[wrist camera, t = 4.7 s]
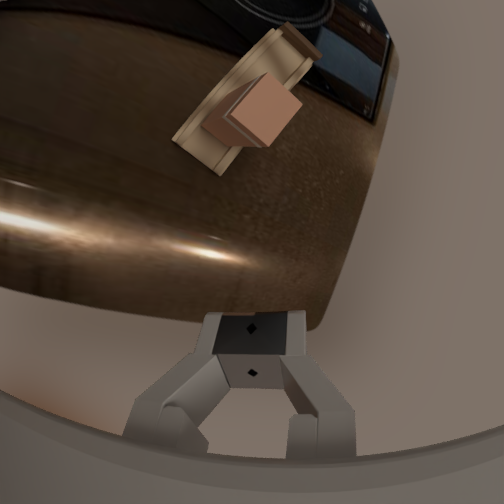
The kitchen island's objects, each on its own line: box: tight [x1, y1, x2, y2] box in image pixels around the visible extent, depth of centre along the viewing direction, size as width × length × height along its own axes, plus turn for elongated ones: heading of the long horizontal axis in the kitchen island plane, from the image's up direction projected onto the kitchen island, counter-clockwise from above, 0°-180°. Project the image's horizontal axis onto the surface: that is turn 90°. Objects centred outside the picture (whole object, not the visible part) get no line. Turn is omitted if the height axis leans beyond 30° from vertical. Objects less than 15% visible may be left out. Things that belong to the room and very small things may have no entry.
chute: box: [171, 21, 323, 176], centre depth 40 cm, size 25×9×4 cm, turn 141°
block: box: [201, 72, 303, 147], centre depth 35 cm, size 6×5×15 cm
